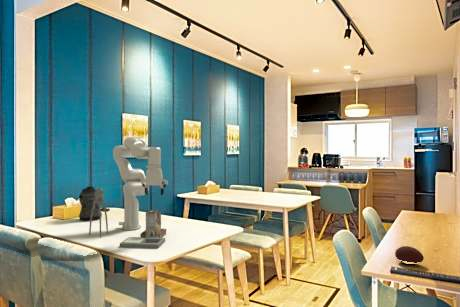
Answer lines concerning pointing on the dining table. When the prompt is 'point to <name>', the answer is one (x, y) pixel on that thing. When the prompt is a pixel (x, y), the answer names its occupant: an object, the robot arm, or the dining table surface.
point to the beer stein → (88, 205)
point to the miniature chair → (99, 200)
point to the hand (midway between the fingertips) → (154, 194)
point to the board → (142, 242)
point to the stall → (160, 235)
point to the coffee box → (153, 223)
